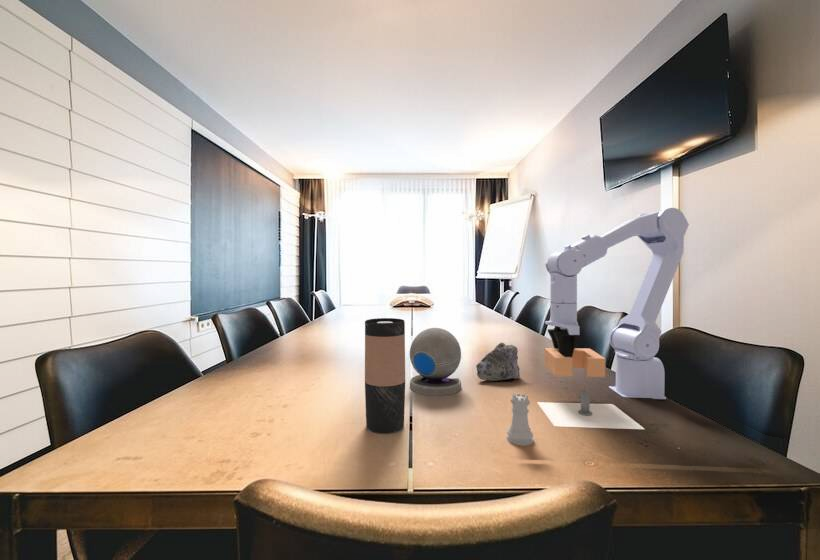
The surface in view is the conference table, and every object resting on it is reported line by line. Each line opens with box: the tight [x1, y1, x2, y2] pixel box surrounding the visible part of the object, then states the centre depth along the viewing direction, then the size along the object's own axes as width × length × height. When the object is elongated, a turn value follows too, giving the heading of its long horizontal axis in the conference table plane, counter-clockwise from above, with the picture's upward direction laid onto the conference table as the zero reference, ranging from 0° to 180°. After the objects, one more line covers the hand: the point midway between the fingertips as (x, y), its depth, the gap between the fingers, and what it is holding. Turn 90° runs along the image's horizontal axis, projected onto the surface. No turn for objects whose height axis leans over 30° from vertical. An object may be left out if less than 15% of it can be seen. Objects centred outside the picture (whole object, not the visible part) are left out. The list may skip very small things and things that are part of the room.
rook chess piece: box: [506, 393, 534, 446], centre depth 64 cm, size 4×4×8 cm
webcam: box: [409, 327, 462, 396], centre depth 95 cm, size 13×13×15 cm
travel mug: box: [364, 317, 406, 435], centre depth 71 cm, size 8×8×20 cm
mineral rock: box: [475, 342, 521, 382], centre depth 102 cm, size 13×11×10 cm
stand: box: [536, 389, 645, 430], centre depth 75 cm, size 16×13×5 cm
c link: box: [543, 347, 607, 378], centre depth 85 cm, size 8×10×4 cm
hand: (563, 360), depth 88 cm, fingers closed on c link, 2 cm apart
